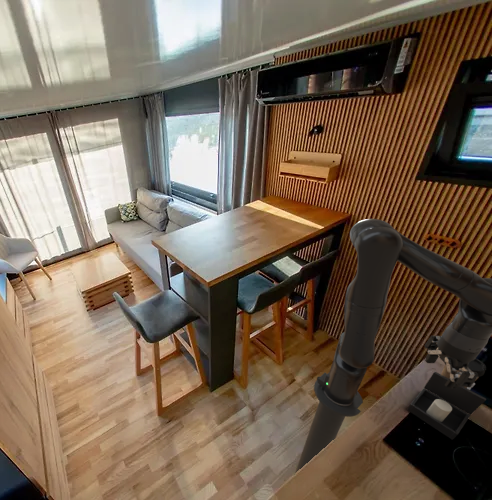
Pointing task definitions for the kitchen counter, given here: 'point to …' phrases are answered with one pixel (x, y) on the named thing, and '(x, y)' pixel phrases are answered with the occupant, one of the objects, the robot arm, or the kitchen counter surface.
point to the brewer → (447, 426)
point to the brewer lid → (454, 393)
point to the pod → (439, 409)
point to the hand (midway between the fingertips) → (439, 374)
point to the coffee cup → (473, 366)
